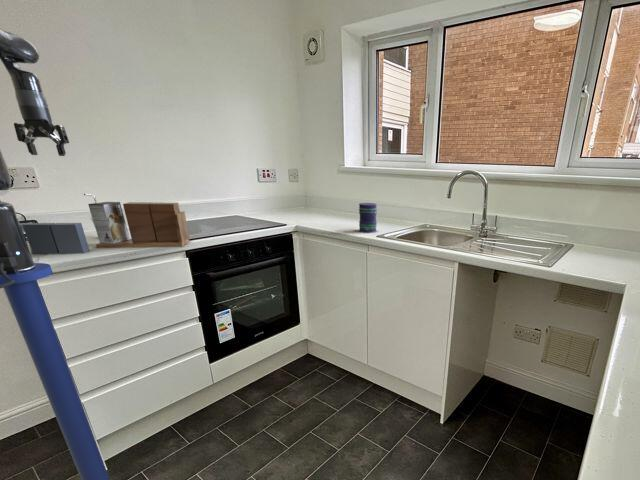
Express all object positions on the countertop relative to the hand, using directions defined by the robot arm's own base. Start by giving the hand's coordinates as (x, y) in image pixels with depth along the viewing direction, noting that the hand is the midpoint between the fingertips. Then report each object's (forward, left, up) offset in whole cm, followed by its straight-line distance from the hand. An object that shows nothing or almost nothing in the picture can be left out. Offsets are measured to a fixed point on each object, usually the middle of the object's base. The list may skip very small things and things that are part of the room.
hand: (48, 155), depth 129 cm
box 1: (+7, -23, -34) cm, 41 cm away
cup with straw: (+24, +1, -35) cm, 43 cm away
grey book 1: (-5, +7, -35) cm, 36 cm away
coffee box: (+7, -11, -34) cm, 36 cm away
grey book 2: (-5, -2, -35) cm, 35 cm away
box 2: (+7, -32, -34) cm, 47 cm away
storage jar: (+33, -124, -35) cm, 133 cm away
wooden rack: (+7, -22, -35) cm, 42 cm away
